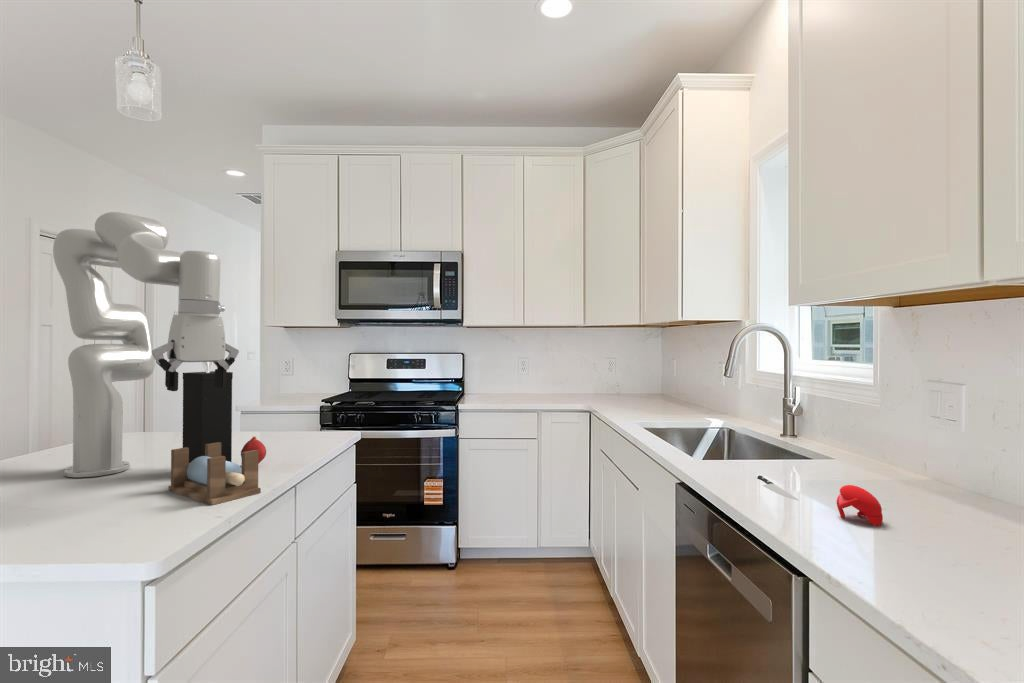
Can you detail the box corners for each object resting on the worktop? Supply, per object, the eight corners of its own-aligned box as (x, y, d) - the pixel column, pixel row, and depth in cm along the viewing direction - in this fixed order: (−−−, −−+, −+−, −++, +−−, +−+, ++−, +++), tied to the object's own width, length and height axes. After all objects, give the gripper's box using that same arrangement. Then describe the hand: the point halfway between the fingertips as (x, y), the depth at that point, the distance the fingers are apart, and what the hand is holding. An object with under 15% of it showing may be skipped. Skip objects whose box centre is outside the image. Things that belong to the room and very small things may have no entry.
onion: (235, 469, 129) (235, 437, 129) (250, 463, 135) (251, 433, 135) (256, 470, 128) (256, 438, 128) (270, 464, 134) (271, 434, 134)
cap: (823, 497, 98) (845, 488, 93) (842, 483, 100) (865, 474, 95) (853, 536, 95) (878, 529, 90) (872, 521, 97) (898, 514, 92)
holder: (168, 490, 111) (169, 449, 111) (216, 480, 119) (216, 441, 119) (212, 505, 101) (212, 459, 101) (260, 492, 109) (260, 451, 109)
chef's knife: (787, 504, 105) (802, 503, 105) (787, 498, 105) (802, 498, 105) (748, 479, 125) (761, 478, 124) (748, 474, 125) (760, 474, 124)
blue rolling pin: (177, 483, 113) (177, 456, 112) (206, 477, 118) (205, 451, 118) (224, 498, 102) (224, 468, 102) (253, 490, 107) (252, 462, 107)
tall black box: (181, 473, 125) (182, 359, 125) (213, 466, 132) (214, 358, 132) (200, 477, 122) (201, 360, 122) (232, 470, 129) (232, 359, 129)
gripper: (229, 311, 119) (227, 384, 119) (144, 306, 104) (142, 390, 104) (247, 311, 115) (245, 387, 115) (162, 306, 100) (160, 393, 100)
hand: (196, 388), depth 110 cm, fingers open, 9 cm apart
